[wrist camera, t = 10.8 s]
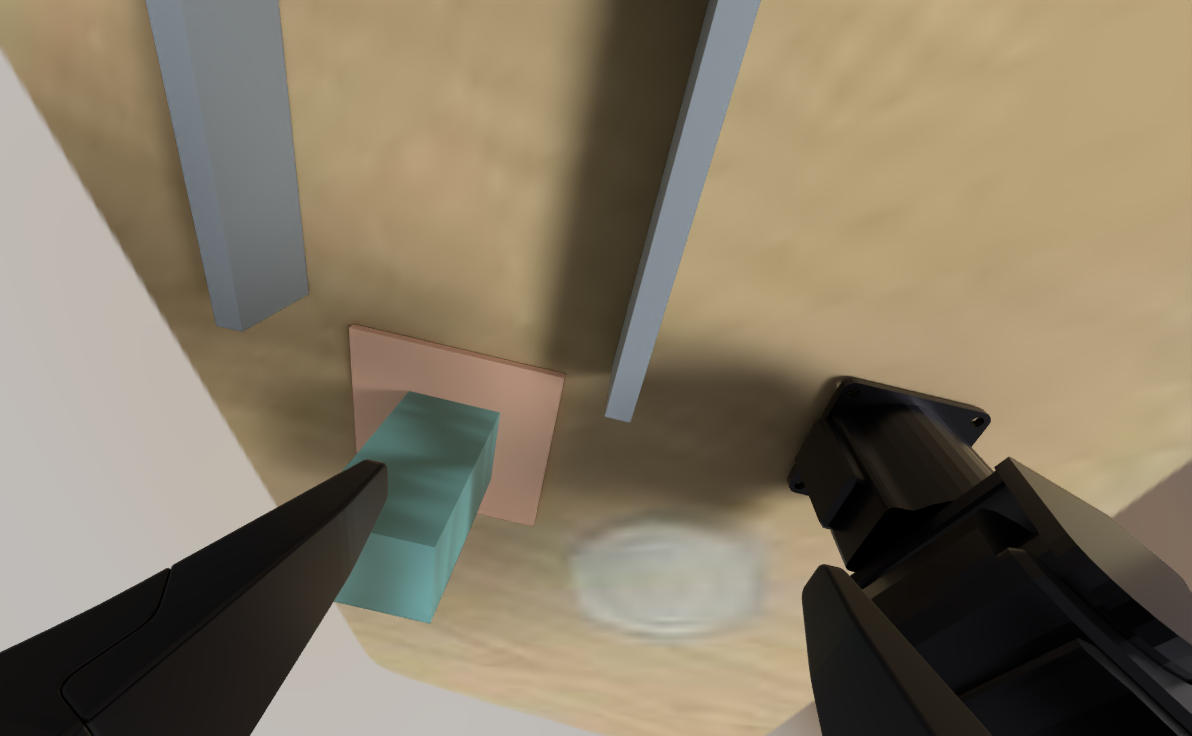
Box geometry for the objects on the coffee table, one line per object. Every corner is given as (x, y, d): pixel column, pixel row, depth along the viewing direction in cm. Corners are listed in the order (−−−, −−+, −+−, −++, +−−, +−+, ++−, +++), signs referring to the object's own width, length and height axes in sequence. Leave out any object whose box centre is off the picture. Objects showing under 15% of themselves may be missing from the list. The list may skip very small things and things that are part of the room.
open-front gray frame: (771, -100, 14) (812, -167, 10) (633, 370, 22) (630, 422, 18) (219, -239, 13) (68, -357, 10) (287, 288, 21) (216, 325, 18)
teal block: (500, 412, 23) (435, 547, 16) (490, 479, 25) (429, 623, 18) (409, 390, 23) (304, 516, 16) (407, 460, 25) (315, 597, 18)
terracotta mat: (565, 373, 22) (564, 378, 22) (534, 520, 27) (533, 526, 27) (353, 324, 22) (349, 327, 22) (362, 481, 27) (358, 486, 27)
